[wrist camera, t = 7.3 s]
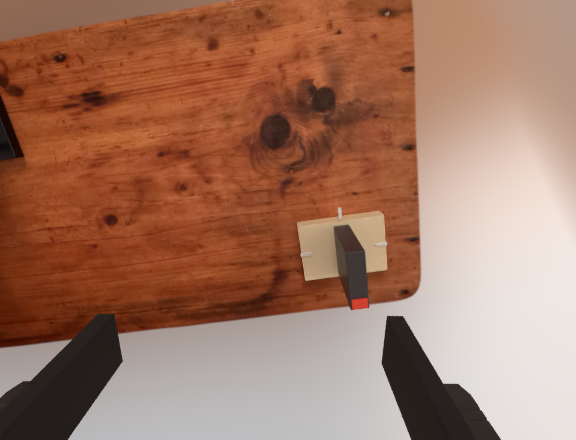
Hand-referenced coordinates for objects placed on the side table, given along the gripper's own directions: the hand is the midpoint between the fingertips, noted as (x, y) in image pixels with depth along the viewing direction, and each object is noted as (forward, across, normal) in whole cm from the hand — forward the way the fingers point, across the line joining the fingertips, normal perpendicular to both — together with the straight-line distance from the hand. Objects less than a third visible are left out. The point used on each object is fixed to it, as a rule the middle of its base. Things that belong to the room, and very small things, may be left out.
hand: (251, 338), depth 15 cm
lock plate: (+24, +8, -4) cm, 25 cm away
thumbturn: (+22, +8, -4) cm, 23 cm away
